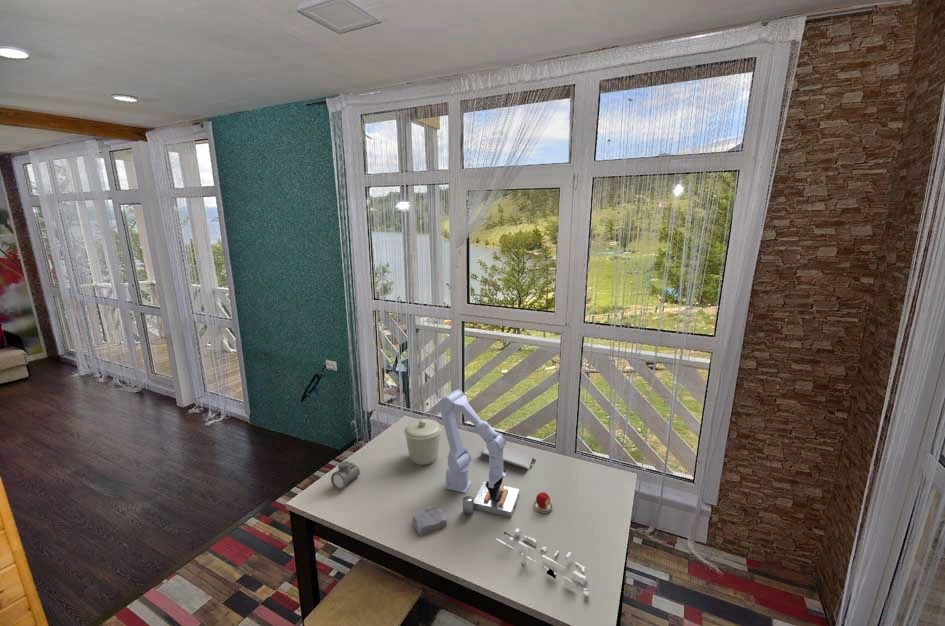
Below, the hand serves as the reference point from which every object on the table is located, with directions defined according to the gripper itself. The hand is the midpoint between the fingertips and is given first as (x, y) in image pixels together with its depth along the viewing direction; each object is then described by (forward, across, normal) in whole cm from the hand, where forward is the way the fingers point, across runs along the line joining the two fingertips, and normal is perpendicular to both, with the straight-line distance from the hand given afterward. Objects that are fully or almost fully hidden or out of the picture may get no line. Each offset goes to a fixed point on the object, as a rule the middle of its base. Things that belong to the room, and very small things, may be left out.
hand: (495, 491), depth 169 cm
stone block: (+6, -19, +22) cm, 30 cm away
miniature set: (+6, -22, -24) cm, 33 cm away
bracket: (+3, +2, 0) cm, 3 cm away
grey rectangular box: (+5, 0, 0) cm, 5 cm away
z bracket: (+6, +31, +3) cm, 32 cm away
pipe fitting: (+6, -9, +67) cm, 68 cm away
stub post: (+5, -9, +9) cm, 14 cm away
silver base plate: (+5, +1, 0) cm, 5 cm away
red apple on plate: (+6, +4, -19) cm, 20 cm away
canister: (+6, +18, +42) cm, 46 cm away
